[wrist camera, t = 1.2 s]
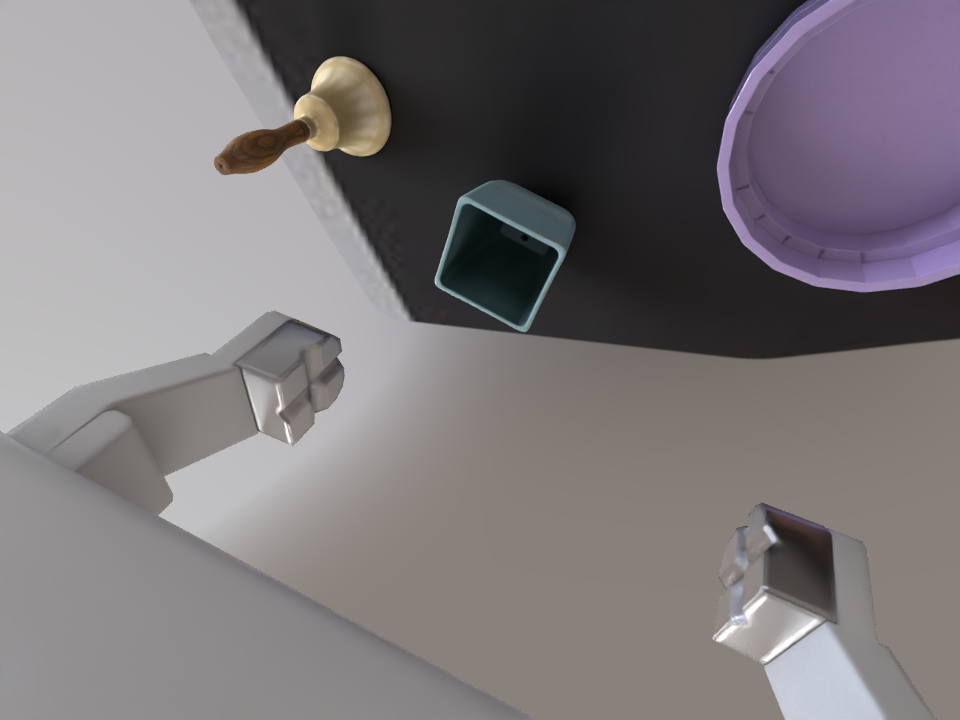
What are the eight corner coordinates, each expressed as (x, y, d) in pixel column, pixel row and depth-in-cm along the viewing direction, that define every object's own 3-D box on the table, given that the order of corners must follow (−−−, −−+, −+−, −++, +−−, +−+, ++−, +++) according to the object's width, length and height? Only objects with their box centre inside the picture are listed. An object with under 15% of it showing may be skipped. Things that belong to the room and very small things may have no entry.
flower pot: (599, 201, 44) (568, 250, 38) (558, 281, 50) (525, 335, 44) (505, 153, 45) (459, 193, 39) (476, 238, 51) (432, 285, 45)
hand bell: (312, 42, 46) (158, 86, 35) (396, 74, 45) (264, 131, 34) (314, 137, 52) (183, 200, 41) (388, 168, 50) (273, 242, 39)
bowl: (759, -41, 31) (754, -32, 27) (1169, -70, 25) (1244, -65, 21) (706, 235, 42) (696, 271, 38) (984, 263, 36) (1009, 311, 32)
